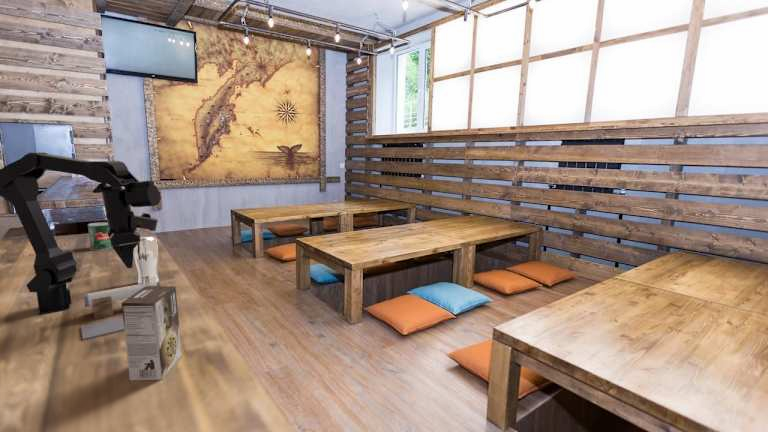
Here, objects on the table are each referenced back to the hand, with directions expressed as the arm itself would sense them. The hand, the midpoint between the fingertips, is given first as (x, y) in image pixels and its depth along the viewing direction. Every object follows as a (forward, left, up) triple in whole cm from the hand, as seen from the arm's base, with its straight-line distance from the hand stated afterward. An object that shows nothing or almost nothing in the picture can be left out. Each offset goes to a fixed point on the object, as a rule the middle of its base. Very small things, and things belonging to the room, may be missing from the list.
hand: (128, 264), depth 105 cm
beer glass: (+7, +21, -13) cm, 26 cm away
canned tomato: (-1, +84, -13) cm, 85 cm away
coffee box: (-1, -38, -13) cm, 40 cm away
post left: (-7, 0, -13) cm, 14 cm away
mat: (-2, -10, -13) cm, 16 cm away
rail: (-2, 0, -9) cm, 9 cm away
